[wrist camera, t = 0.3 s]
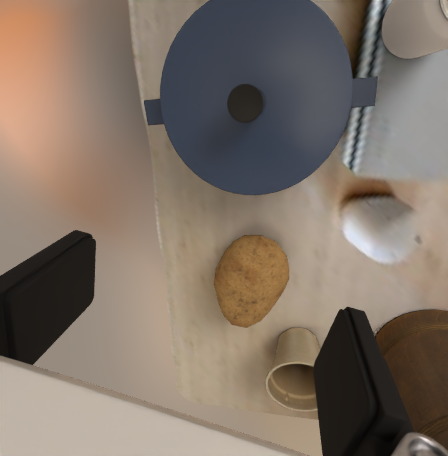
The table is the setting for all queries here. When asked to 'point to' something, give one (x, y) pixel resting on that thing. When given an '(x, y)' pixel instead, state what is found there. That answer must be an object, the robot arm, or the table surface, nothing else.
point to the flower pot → (294, 371)
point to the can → (415, 27)
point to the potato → (250, 279)
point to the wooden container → (420, 368)
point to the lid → (256, 93)
